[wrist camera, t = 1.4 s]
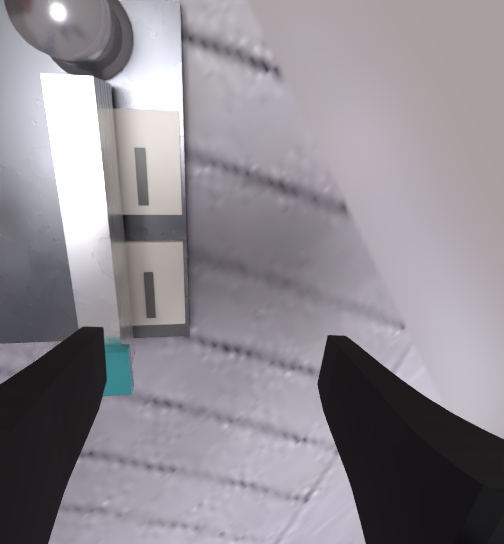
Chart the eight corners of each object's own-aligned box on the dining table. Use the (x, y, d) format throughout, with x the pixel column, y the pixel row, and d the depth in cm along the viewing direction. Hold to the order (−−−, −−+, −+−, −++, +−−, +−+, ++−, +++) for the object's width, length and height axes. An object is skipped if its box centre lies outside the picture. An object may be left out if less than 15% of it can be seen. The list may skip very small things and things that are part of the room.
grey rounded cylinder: (136, 84, 18) (118, 73, 13) (49, 79, 17) (2, 66, 13) (129, -15, 16) (107, -61, 12) (34, -24, 16) (-24, -75, 11)
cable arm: (57, 80, 16) (20, 70, 13) (120, 84, 17) (99, 74, 13) (95, 354, 22) (75, 401, 18) (142, 352, 22) (132, 397, 18)
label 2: (185, 321, 23) (185, 324, 22) (97, 324, 22) (95, 327, 21) (182, 240, 21) (182, 242, 20) (86, 241, 20) (84, 243, 20)
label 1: (182, 213, 20) (181, 215, 20) (82, 213, 19) (80, 214, 19) (178, 111, 18) (178, 111, 18) (69, 106, 18) (66, 106, 17)
